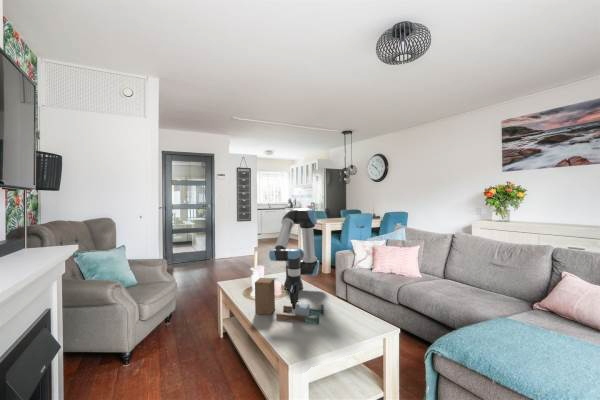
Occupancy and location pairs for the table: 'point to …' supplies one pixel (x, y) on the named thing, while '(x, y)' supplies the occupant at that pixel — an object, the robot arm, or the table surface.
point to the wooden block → (264, 296)
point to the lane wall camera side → (298, 318)
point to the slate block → (302, 309)
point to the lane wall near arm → (312, 310)
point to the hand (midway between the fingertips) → (294, 313)
